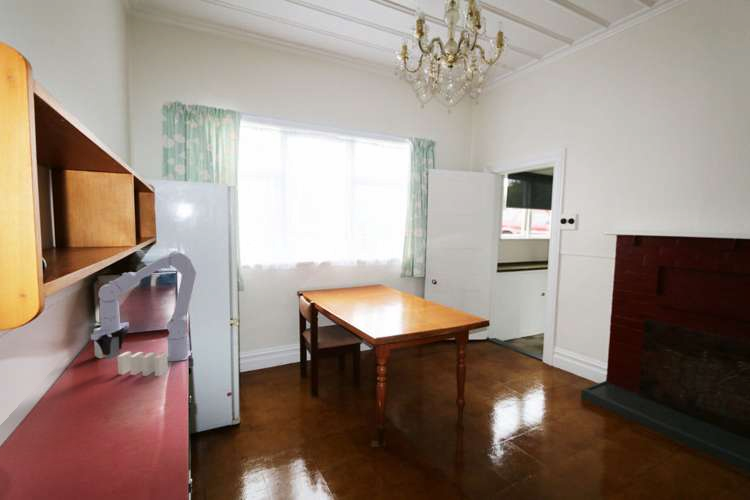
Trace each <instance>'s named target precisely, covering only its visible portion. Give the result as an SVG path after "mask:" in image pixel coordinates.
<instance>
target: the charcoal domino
mask: <svg viewBox="0 0 750 500" xmlns="http://www.w3.org/2000/svg"><path fill="white" fill-rule="evenodd" d="M120 350H121V349H120ZM120 350H119V337H113V338H112V341H111V346H110V354H109V355H105V357H104V358H105V360H112V359H113V358H114V359H115V358H116V357H117V356H119V355H121V352H120Z"/></svg>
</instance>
